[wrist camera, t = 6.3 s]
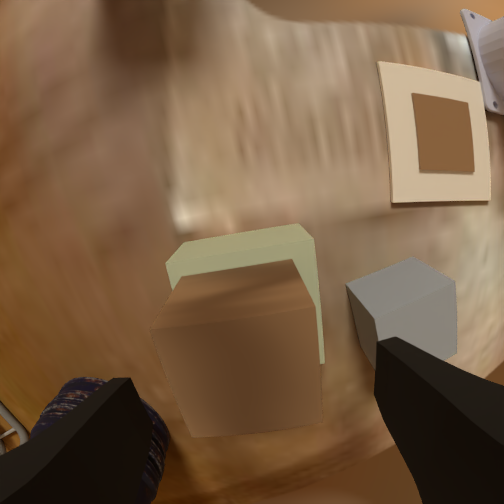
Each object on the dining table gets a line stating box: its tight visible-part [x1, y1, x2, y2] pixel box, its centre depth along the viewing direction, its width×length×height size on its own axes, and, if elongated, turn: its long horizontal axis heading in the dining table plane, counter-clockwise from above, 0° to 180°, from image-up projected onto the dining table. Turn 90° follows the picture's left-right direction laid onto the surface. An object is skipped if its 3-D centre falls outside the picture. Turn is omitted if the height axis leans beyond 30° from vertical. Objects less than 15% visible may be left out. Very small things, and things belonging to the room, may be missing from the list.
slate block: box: [346, 257, 457, 370], centre depth 15 cm, size 4×4×4 cm
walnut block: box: [149, 259, 323, 438], centre depth 10 cm, size 4×4×4 cm
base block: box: [166, 223, 325, 364], centre depth 15 cm, size 6×6×4 cm
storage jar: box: [29, 377, 170, 504], centre depth 12 cm, size 10×10×15 cm
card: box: [377, 61, 491, 203], centre depth 14 cm, size 8×8×1 cm
